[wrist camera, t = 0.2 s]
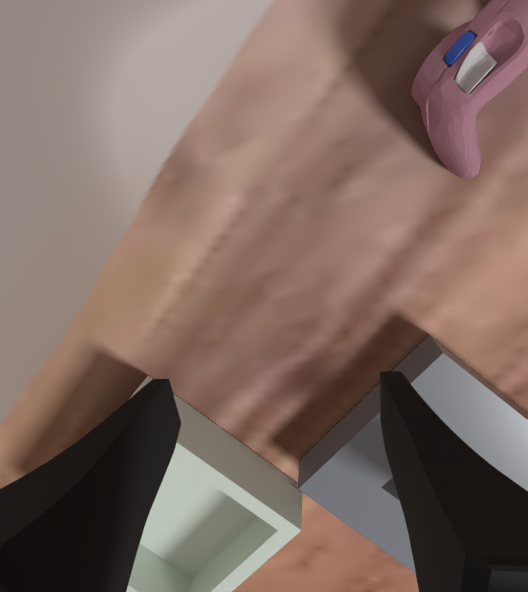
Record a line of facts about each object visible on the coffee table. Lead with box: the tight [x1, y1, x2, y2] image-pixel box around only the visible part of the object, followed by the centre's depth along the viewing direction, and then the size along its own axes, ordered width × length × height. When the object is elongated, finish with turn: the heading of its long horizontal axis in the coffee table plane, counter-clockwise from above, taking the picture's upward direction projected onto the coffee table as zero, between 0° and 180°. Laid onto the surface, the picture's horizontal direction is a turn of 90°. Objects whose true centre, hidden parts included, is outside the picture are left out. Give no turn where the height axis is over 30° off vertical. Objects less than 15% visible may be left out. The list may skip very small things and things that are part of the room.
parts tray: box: [126, 376, 302, 592], centre depth 27 cm, size 13×13×4 cm
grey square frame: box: [298, 334, 528, 574], centre depth 24 cm, size 12×12×2 cm
